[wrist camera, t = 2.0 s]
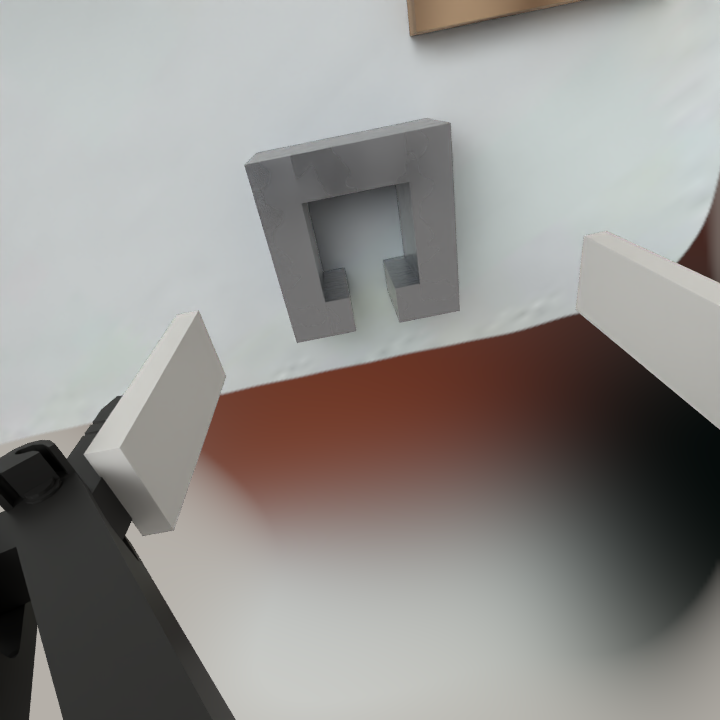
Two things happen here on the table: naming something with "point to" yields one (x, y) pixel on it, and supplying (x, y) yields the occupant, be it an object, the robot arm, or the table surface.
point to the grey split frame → (350, 175)
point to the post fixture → (467, 12)
